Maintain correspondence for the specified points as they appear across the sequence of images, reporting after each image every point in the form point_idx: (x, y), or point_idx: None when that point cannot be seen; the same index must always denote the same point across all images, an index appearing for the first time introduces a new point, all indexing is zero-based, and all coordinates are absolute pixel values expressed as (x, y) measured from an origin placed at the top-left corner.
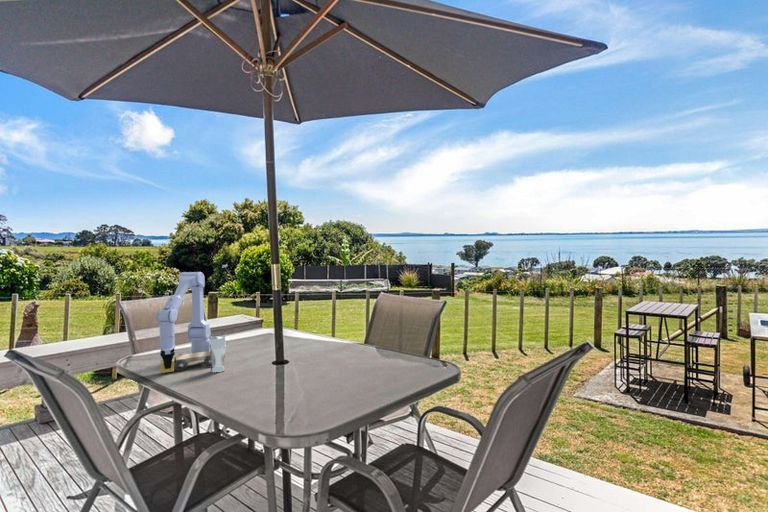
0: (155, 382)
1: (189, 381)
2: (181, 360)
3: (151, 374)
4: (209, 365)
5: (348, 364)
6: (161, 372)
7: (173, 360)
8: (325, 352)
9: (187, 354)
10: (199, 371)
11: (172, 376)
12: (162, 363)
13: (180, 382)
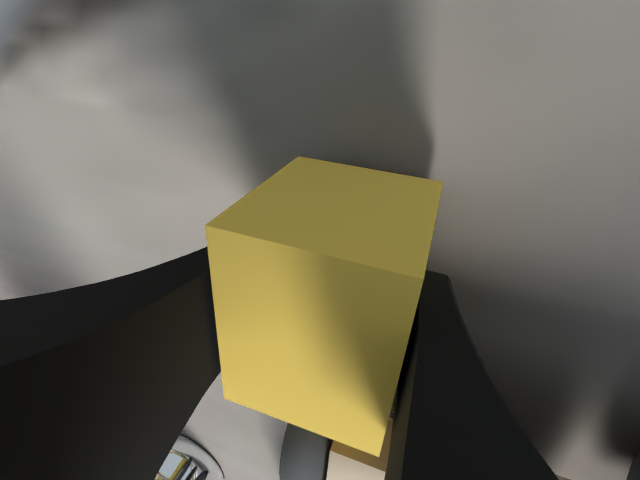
0: (32, 46)
1: (22, 281)
2: (284, 465)
3: (446, 15)
4: None
5: None
6: (295, 165)
7: (266, 410)
8: None
9: None
10: (234, 414)
11: (183, 234)
12: (220, 244)
13: (8, 232)
